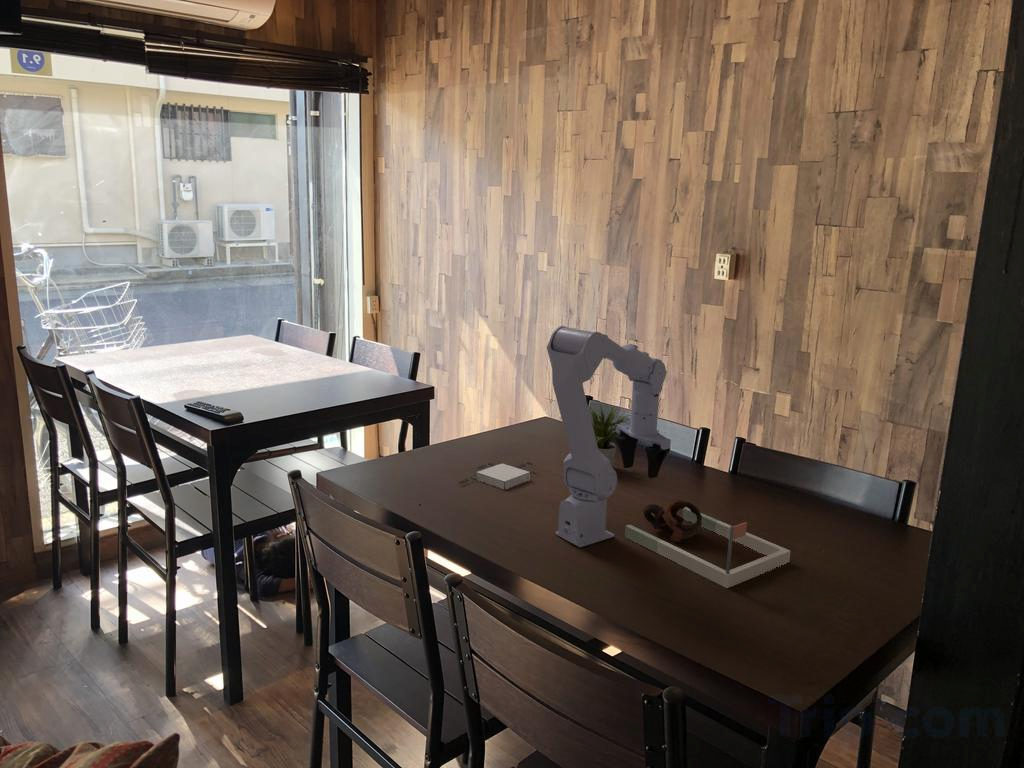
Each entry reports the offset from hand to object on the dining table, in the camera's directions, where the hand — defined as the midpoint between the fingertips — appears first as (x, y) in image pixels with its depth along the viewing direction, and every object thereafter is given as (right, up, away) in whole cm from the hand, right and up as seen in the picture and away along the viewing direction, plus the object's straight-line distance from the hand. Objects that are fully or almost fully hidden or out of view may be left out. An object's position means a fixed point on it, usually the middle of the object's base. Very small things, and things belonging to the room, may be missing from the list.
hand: (640, 472), depth 175 cm
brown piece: (+5, -12, -8) cm, 16 cm away
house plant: (-5, -3, +29) cm, 29 cm away
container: (-31, -5, +21) cm, 38 cm away
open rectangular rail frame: (+10, -14, -16) cm, 23 cm away
